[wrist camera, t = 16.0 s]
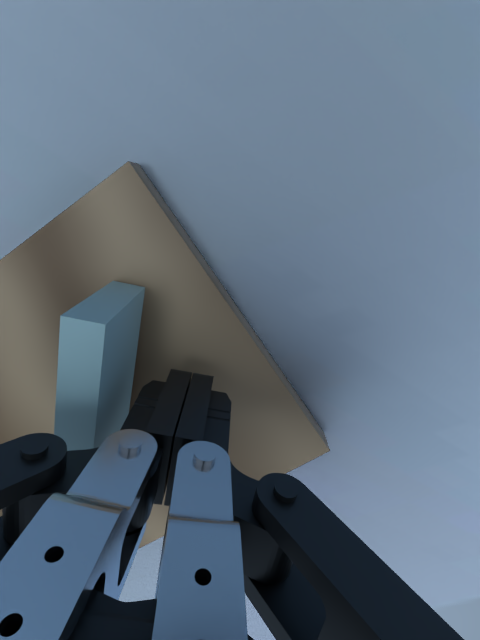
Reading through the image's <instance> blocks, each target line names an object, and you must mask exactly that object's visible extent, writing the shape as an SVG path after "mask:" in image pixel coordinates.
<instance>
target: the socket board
mask: <svg viewBox="0 0 480 640" xmlns="http://www.w3.org/2000/svg"><path fill="white" fill-rule="evenodd" d="M112 281H117V282H122V283H127V284H132V285H137V286H141V287H145V293H144V301H143V308H142V316H141V324H140V331H139V339H138V346H137V354H136V362H135V369H134V377H133V385H132V392H131V400H130V408H129V412H130V410H131V408H132V406H133V405H134V402H135V401H136V399H137V398H138V395H139V393H140V391H141V389H142V387H143V386H145V385H146V384H148V383H149V382H151V381H152V380H156V381H162V382H166V380H167V377H168V375H169V373H170V370H171V369H176V370H182V371H187V372H192V376H193V373H199V374H204V375H210V376H214V378H213V383H212V389H211V390H213V391H219V392H224V393H227V395H228V397H229V399H230V400H231V402H232V403H231V419H230V434H229V449H228V455H229V457H230V461H231V463H232V464H233V465H234V467H235V468H236V469H237V470H239V471H240V472H241V473H243V474H244V475H246V476H248V477H251V478H253V479H255V480H258V481H259V480H260V479H261V478H262V477H263V476H265V475H267V474H270V473H283V474H286V473H287V472H289V471H291V470H293V469H295V468H297V467H299V466H301V465H303V464H305V463H307V462H309V461H311V460H313V459H315V458H317V457H319V456H321V455H323V454H325V453H327V452H329V451H330V449H329V446H328V443H327V440H326V437H325V434H324V432H323V431H322V429H321V428H320V426H319V425H318V423H317V422H316V420H315V419H314V418H313V416H312V415H311V413H310V412H309V410H308V409H307V407H306V406H305V404H304V403H303V402H302V400H301V399H300V397H299V396H298V394H297V393H296V391H295V390H294V389H293V387H292V386H291V384H290V383H289V381H288V380H287V378H286V377H285V375H284V374H283V373H282V371H281V370H280V368H279V367H278V365H277V364H276V362H275V361H274V360H273V358H272V357H271V355H270V354H269V352H268V351H267V349H266V348H265V346H264V345H263V344H262V342H261V341H260V339H259V338H258V336H257V335H256V333H255V332H254V330H253V329H252V328H251V326H250V325H249V323H248V322H247V320H246V319H245V317H244V316H243V315H242V313H241V312H240V310H239V309H238V307H237V306H236V304H235V303H234V301H233V300H232V299H231V297H230V296H229V294H228V293H227V291H226V290H225V288H224V287H223V285H222V284H221V283H220V281H219V280H218V278H217V277H216V275H215V274H214V272H213V271H212V270H211V268H210V267H209V265H208V264H207V262H206V261H205V259H204V258H203V256H202V255H201V254H200V252H199V251H198V249H197V248H196V246H195V245H194V243H193V242H192V240H191V239H190V238H189V236H188V235H187V233H186V232H185V230H184V229H183V227H182V226H181V225H180V223H179V222H178V220H177V219H176V217H175V216H174V214H173V213H172V211H171V210H170V209H169V207H168V206H167V204H166V203H165V201H164V200H163V198H162V197H161V195H160V194H159V193H158V191H157V190H156V188H155V187H154V185H153V184H152V182H151V181H150V180H149V178H148V177H147V175H146V174H145V172H144V171H143V169H142V168H141V166H140V165H139V164H136V163H133V162H129V161H128V162H127V163H126V164H124V165H123V166H122V167H120V168H119V169H118V170H117V171H115V172H114V173H113V174H111V175H110V176H109V177H107V178H106V179H105V180H104V181H102V182H101V183H100V184H98V185H97V186H96V187H94V188H93V189H92V190H91V191H89V192H88V193H87V194H85V195H84V196H83V197H81V198H80V199H79V200H78V201H76V202H75V203H74V204H72V205H71V206H70V207H68V208H67V209H66V210H65V211H63V212H62V213H61V214H59V215H58V216H57V217H55V218H54V219H53V220H52V221H50V222H49V223H48V224H46V225H45V226H44V227H42V228H41V229H40V230H39V231H37V232H36V233H35V234H33V235H32V236H31V237H29V238H28V239H27V240H26V241H24V242H23V243H22V244H20V245H19V246H18V247H16V248H15V249H14V250H13V251H11V252H10V253H9V254H7V255H6V256H5V257H3V258H2V259H1V260H0V444H2V443H5V442H8V441H11V440H13V439H16V438H19V437H21V436H25V435H28V434H33V433H50V434H54V424H55V405H56V387H57V369H58V350H59V332H60V316H61V315H62V314H64V313H65V312H67V311H68V310H70V309H71V308H73V307H74V306H76V305H77V304H79V303H80V302H82V301H83V300H85V299H86V298H88V297H89V296H91V295H92V294H94V293H95V292H97V291H98V290H100V289H101V288H103V287H104V286H106V285H107V284H109V283H110V282H112ZM191 379H192V377H191ZM166 489H167V487H166ZM165 495H166V491H165ZM165 495H164V498H163V502H162V505H158V504H153V506H152V510H151V513H150V516H149V519H148V520H147V523H146V529H145V532H144V535H143V537H142V540H141V542H140V545H139V548H141V547H143V546H145V545H147V544H149V543H150V542H152V541H154V540H156V539H158V538H160V537H162V536H164V533H165V527H166V521H167V516H168V510H169V506H166V505H164V502H165ZM1 516H2V509H1V510H0V517H1ZM139 548H138V549H139Z"/></svg>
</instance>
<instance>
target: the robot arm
mask: <svg viewBox="0 0 480 640" xmlns="http://www.w3.org/2000/svg"><path fill="white" fill-rule="evenodd" d="M191 377H192V379H191ZM213 378H214V376H210V375H204V374H199V373H193V376H192V372H187V371H182V370H176V369H171V370H170V373H169V375H168V377H167V380H166V382H162V381H156V380H152V381H151V382H149V383H148V384H146V385H145V386H143V387H142V389H141V391H140V393H139V395H138V398H137V399H136V401H135V402H134V405H133V406H132V408H131V410H130V412H129V414H128V416H127V418H126V420H125V421H124V423H123V425H122V427H121V429H120V431H116V432H114V433H112V434H110V435H109V436H108V437H106V438H105V440H104V441H103V442H102V444H101V445H100V447H97V448H93V449H86V450H71V451H67V445H66V442H65V441H64V440H63V439H62V438H61V437H59V436H57V435H54V434H50V433H33V434H28V435H25V436H21V437H19V438H16V439H13V440H11V441H8V442H5V443H2V444H0V510H1V509H2V516H1V517H0V640H254V639H253V638H251V637H250V636H249V635H248V634H247V619H246V605H245V594H246V595H247V597H248V598H249V600H250V601H251V603H252V604H253V606H254V607H255V609H256V610H257V612H258V613H259V615H260V616H261V618H262V619H263V621H264V622H265V624H266V625H267V627H268V628H269V630H270V631H271V633H272V634H273V636H274V637H275V639H276V640H464V639H463V638H462V637H461V636H460V635H459V634H458V633H457V632H455V630H454V629H453V628H451V627H450V626H449V625H448V624H447V623H446V622H445V621H444V620H443V619H442V618H441V617H440V616H439V615H438V614H437V613H436V612H435V611H434V610H433V609H432V608H431V607H430V606H429V605H428V604H427V603H426V602H425V601H424V600H423V599H422V598H421V597H420V596H419V595H417V594H416V593H415V592H414V591H413V590H412V589H411V588H410V587H409V586H408V585H407V584H406V583H405V582H404V581H403V580H402V579H401V578H400V577H399V576H398V575H397V574H396V573H395V572H394V571H393V570H392V569H391V568H390V567H389V566H388V565H387V564H385V563H384V562H383V561H382V560H381V559H380V558H379V557H378V556H377V555H376V554H375V553H374V552H373V551H372V550H371V549H370V548H369V547H368V546H367V545H366V544H365V543H364V542H363V541H362V540H361V539H360V538H359V537H358V536H357V535H356V534H355V533H353V532H352V531H351V530H350V529H349V528H348V527H347V526H346V525H345V524H344V523H343V522H342V521H341V520H340V519H339V518H338V517H337V516H336V515H335V514H334V513H333V512H332V511H331V510H330V509H329V508H328V507H327V506H326V505H325V504H324V503H323V502H322V501H320V500H319V499H318V498H317V497H316V496H315V495H314V494H313V493H312V492H311V491H310V490H309V489H308V488H307V487H306V486H305V485H304V484H303V483H302V482H300V481H299V480H298V479H296V478H294V477H292V476H290V475H287V474H283V473H270V474H267V475H265V476H263V477H262V478H261V479H260V480H259V481H258V480H255V479H253V478H251V477H248V476H246V475H244V474H243V473H241V472H240V471H239V470H237V469H236V468H235V467H234V465H233V464H232V463H231V461H230V457H229V455H228V449H229V434H230V419H231V403H232V402H231V400H230V399H229V397H228V395H227V393H224V392H219V391H213V390H211V389H212V383H213ZM166 487H167V489H166ZM165 491H166V495H165ZM164 495H165V502H164V505H166V506H169V510H168V516H167V521H166V527H165V533H164V540H163V547H162V553H161V560H160V567H159V573H158V580H157V587H156V593H155V599H151V600H143V601H136V602H121V601H118V600H119V597H120V594H121V592H122V589H123V586H124V584H125V581H126V579H127V576H128V573H129V571H130V568H131V566H132V563H133V561H134V558H135V555H136V553H137V550H138V548H139V545H140V542H141V540H142V537H143V535H144V532H145V529H146V523H147V520H148V519H149V516H150V513H151V510H152V506H153V504H158V505H162V502H163V498H164Z"/></svg>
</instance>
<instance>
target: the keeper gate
mask: <svg viewBox="0 0 480 640" xmlns="http://www.w3.org/2000/svg"><path fill="white" fill-rule="evenodd" d="M144 293H145V287H141V286H137V285H132V284H127V283H122V282H117V281H112V282H110V283H109V284H107V285H106V286H104V287H103V288H101V289H100V290H98V291H97V292H95V293H94V294H92V295H91V296H89V297H88V298H86V299H85V300H83V301H82V302H80V303H79V304H77V305H76V306H74V307H73V308H71V309H70V310H68V311H67V312H65V313H64V314H62V315H61V316H60V332H59V350H58V369H57V387H56V405H55V424H54V435H57V436H59V437H61V438H62V439H63V440H64V441H65V442H66V445H67V451H71V450H86V449H93V448H97V447H100V445H101V444H102V442H103V441H104V440H105V438H106V437H108V436H109V435H110V434H112V433H114V432H116V431H120V429H121V427H122V425H123V423H124V421H125V420H126V418H127V416H128V414H129V408H130V400H131V392H132V385H133V377H134V369H135V362H136V354H137V346H138V339H139V331H140V324H141V316H142V308H143V301H144Z"/></svg>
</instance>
